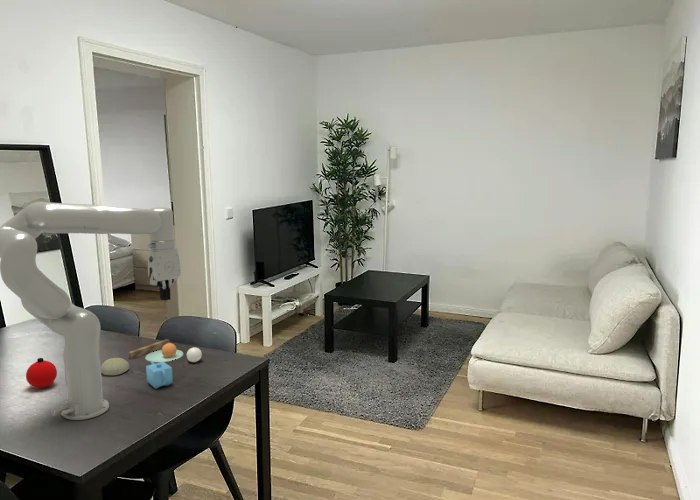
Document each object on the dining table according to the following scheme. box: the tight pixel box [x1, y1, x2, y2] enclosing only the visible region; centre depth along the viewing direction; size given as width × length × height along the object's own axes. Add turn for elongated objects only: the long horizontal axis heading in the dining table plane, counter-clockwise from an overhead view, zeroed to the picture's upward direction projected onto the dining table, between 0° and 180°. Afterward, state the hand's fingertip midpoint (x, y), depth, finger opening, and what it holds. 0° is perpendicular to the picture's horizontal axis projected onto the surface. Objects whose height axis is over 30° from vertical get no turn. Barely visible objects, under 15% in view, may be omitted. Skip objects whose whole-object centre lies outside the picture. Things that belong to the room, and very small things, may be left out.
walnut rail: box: [127, 338, 171, 360], centre depth 211 cm, size 18×2×2 cm, turn 149°
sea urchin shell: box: [100, 357, 130, 376], centre depth 190 cm, size 9×8×8 cm
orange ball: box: [161, 342, 177, 357], centre depth 205 cm, size 6×6×6 cm
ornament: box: [25, 357, 58, 389], centre depth 177 cm, size 9×9×10 cm
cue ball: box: [186, 346, 202, 363], centre depth 200 cm, size 6×6×6 cm
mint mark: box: [144, 349, 184, 363], centre depth 207 cm, size 14×14×1 cm
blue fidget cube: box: [145, 361, 174, 390], centre depth 180 cm, size 12×6×8 cm, turn 41°
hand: (165, 299), depth 177 cm, fingers closed
